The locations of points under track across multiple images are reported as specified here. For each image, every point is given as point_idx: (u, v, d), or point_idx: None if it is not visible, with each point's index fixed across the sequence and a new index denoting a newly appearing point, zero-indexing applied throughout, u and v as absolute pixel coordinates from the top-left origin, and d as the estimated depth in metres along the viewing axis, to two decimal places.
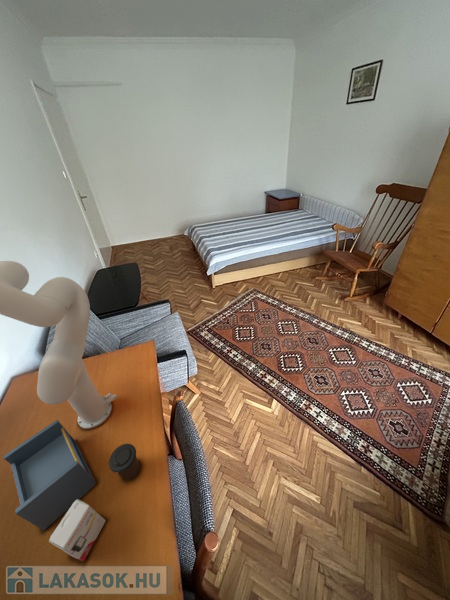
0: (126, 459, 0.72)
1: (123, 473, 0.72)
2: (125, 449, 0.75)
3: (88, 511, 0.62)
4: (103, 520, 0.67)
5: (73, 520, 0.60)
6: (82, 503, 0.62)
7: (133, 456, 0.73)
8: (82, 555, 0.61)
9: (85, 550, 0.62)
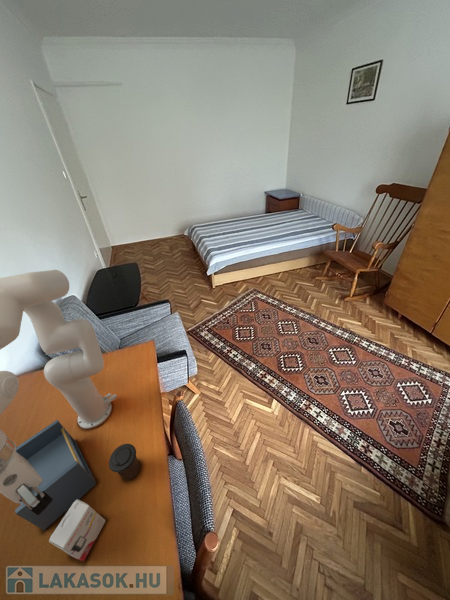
0: (126, 459, 0.72)
1: (123, 473, 0.72)
2: (125, 449, 0.75)
3: (88, 511, 0.62)
4: (103, 520, 0.67)
5: (73, 520, 0.60)
6: (82, 503, 0.62)
7: (133, 456, 0.73)
8: (82, 555, 0.61)
9: (85, 550, 0.62)
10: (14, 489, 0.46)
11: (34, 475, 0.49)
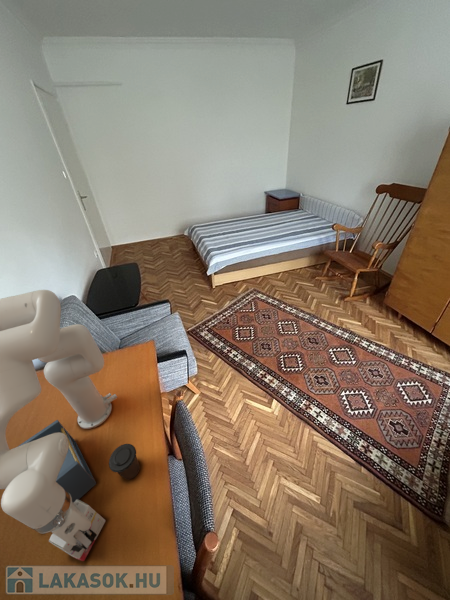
0: (126, 459, 0.72)
1: (123, 473, 0.72)
2: (125, 449, 0.75)
3: (88, 511, 0.62)
4: (103, 520, 0.67)
5: None
6: (82, 503, 0.62)
7: (133, 456, 0.73)
8: (82, 555, 0.61)
9: (85, 550, 0.62)
10: (72, 535, 0.55)
11: (86, 521, 0.58)
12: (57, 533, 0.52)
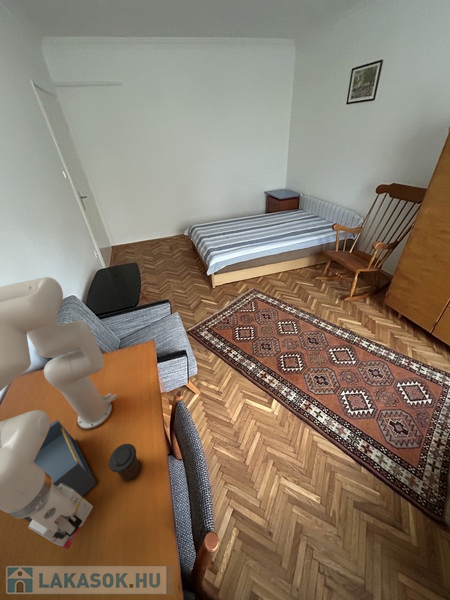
0: (126, 459, 0.72)
1: (123, 473, 0.72)
2: (125, 449, 0.75)
3: (72, 495, 0.57)
4: (90, 506, 0.63)
5: None
6: (66, 487, 0.58)
7: (133, 456, 0.73)
8: (66, 542, 0.56)
9: (69, 537, 0.57)
10: (53, 521, 0.50)
11: (69, 505, 0.53)
12: (35, 518, 0.47)
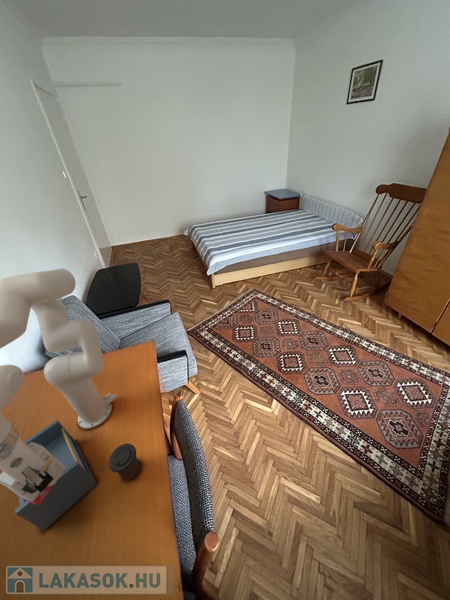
0: (126, 459, 0.72)
1: (123, 473, 0.72)
2: (125, 449, 0.75)
3: (42, 452, 0.58)
4: (63, 466, 0.64)
5: None
6: (37, 445, 0.59)
7: (133, 456, 0.73)
8: (37, 498, 0.57)
9: (40, 493, 0.58)
10: (20, 471, 0.51)
11: (38, 458, 0.54)
12: (1, 466, 0.48)
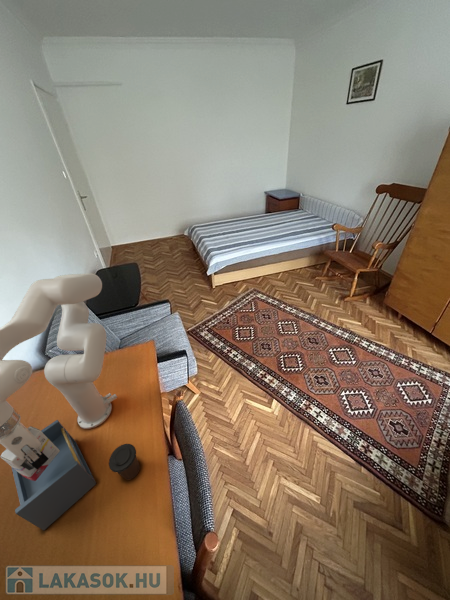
0: (126, 459, 0.72)
1: (123, 473, 0.72)
2: (125, 449, 0.75)
3: (39, 435, 0.67)
4: (57, 449, 0.73)
5: None
6: (34, 429, 0.68)
7: (133, 456, 0.73)
8: (33, 474, 0.67)
9: (37, 471, 0.67)
10: (20, 448, 0.60)
11: (35, 439, 0.63)
12: (4, 442, 0.58)
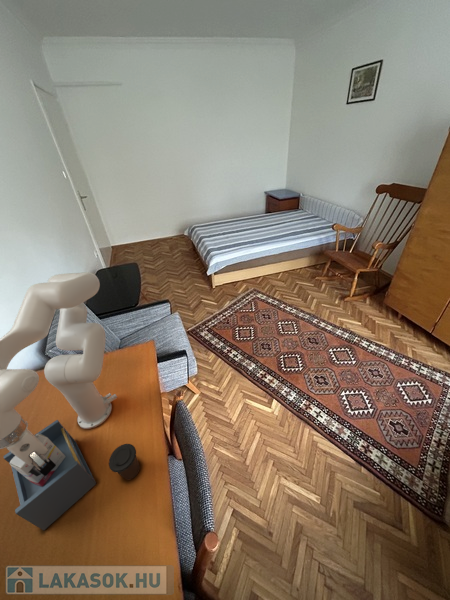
0: (126, 459, 0.72)
1: (123, 473, 0.72)
2: (125, 449, 0.75)
3: (46, 442, 0.70)
4: (63, 455, 0.75)
5: None
6: (42, 436, 0.70)
7: (133, 456, 0.73)
8: (41, 480, 0.69)
9: (44, 477, 0.70)
10: (27, 454, 0.62)
11: (42, 445, 0.65)
12: (12, 449, 0.60)
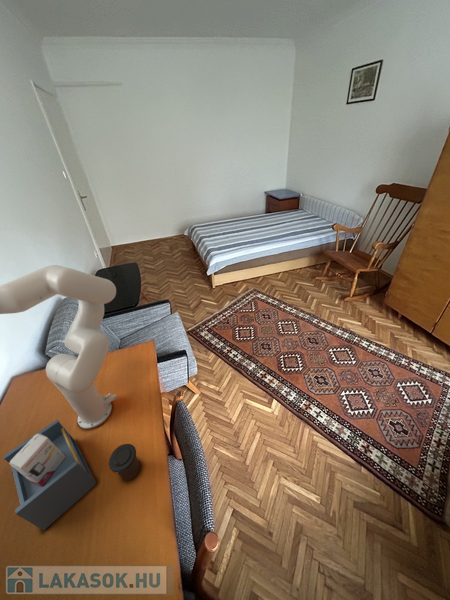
0: (126, 459, 0.72)
1: (123, 473, 0.72)
2: (125, 449, 0.75)
3: (46, 442, 0.70)
4: (63, 455, 0.75)
5: (32, 448, 0.68)
6: (42, 436, 0.70)
7: (133, 456, 0.73)
8: (41, 480, 0.69)
9: (44, 477, 0.70)
10: None
11: None
12: None
